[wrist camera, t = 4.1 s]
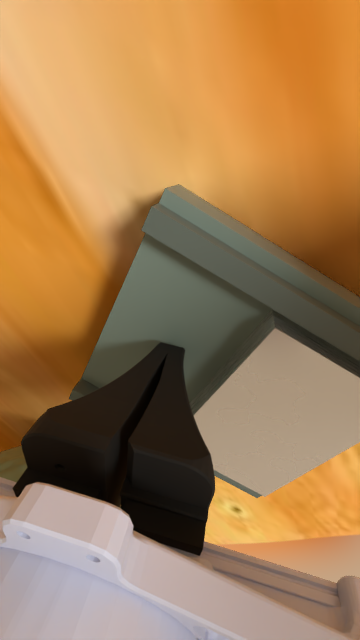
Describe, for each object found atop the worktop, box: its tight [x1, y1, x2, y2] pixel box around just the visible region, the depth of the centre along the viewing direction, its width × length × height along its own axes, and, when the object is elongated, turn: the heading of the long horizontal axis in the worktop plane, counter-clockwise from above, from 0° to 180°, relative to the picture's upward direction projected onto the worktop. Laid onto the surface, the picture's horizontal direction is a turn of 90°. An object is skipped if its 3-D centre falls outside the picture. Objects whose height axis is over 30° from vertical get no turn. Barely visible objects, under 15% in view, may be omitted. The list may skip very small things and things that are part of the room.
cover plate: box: [190, 310, 360, 497], centre depth 14 cm, size 7×10×2 cm
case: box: [69, 184, 360, 498], centre depth 15 cm, size 14×14×4 cm
